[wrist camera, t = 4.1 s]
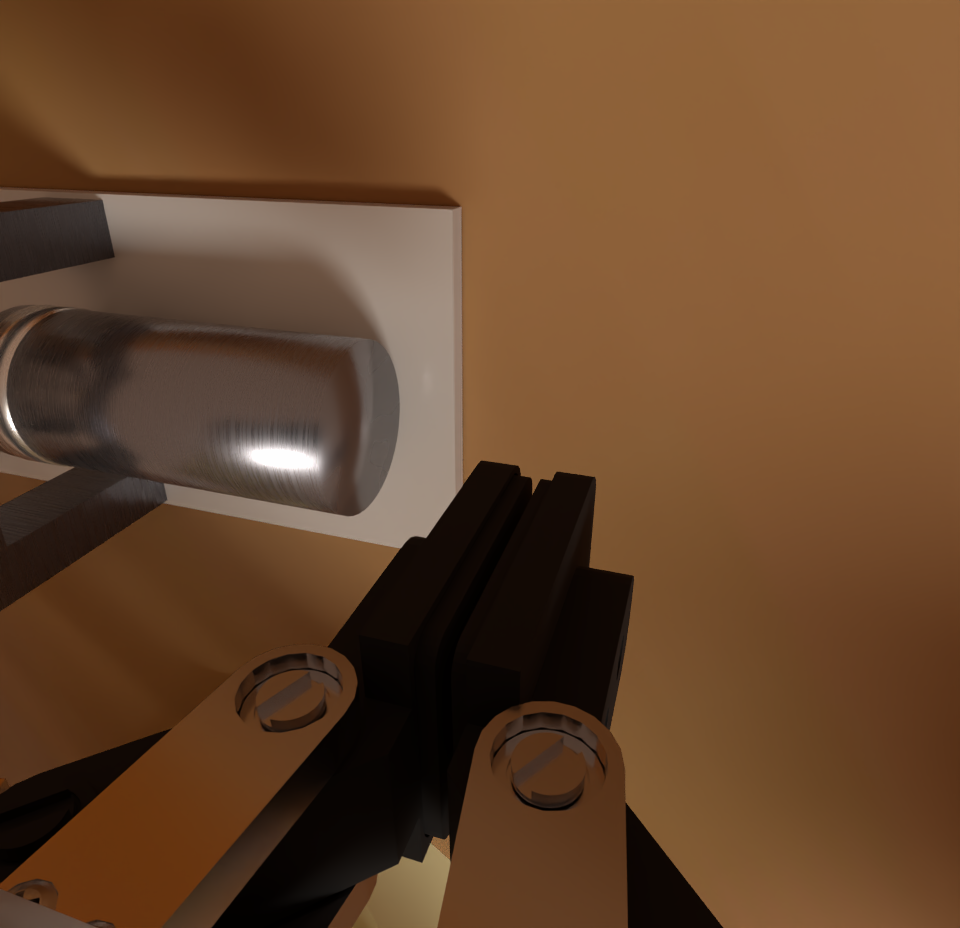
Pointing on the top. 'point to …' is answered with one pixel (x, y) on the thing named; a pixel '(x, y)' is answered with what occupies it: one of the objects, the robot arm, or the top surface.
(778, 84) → the top surface
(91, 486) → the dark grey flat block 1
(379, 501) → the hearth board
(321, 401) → the tube
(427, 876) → the slatted curved stool
